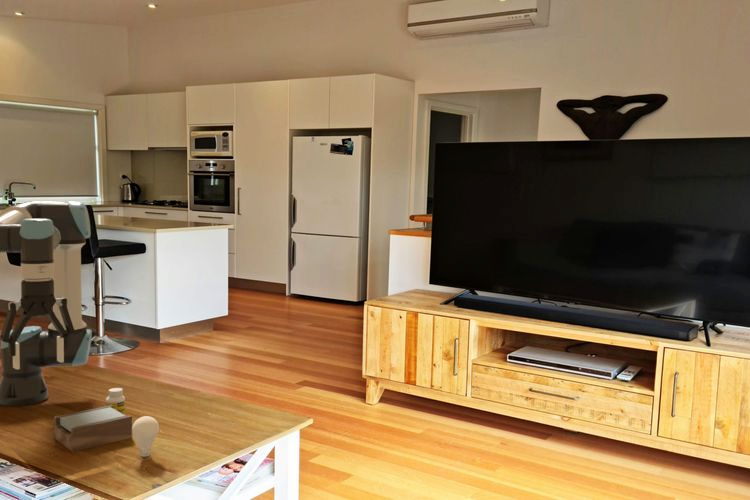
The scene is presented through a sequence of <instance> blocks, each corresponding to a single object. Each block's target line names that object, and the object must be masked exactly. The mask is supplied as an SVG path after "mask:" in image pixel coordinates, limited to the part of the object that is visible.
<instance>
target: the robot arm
mask: <svg viewBox="0 0 750 500" xmlns="http://www.w3.org/2000/svg"><path fill="white" fill-rule="evenodd" d="M90 238H91V222H90V216H89V212H88V208H87V206H86V205H85V203H83V202H79V201H70V200H69V201H67V200H65V201H64V200H62V201H60V200H58V201H55V200H53V201H52V200H51V201H50V200H33V201H32V200H31V201H25V202H21V203H17V204H14V205H11V206H9V207H6V208H5V209H3V211H1V213H0V253H20V278H21V279H23V280H21V281H20V285H21V287H20V292H21V297H20V300H19V301H15V302H14V301H8V302H7V313H6V316H5V320H4V323H3V325H2V330H1V333H0V343H1V344H0V358H1V362H0V363H1V379H0V406H3V407H4V406H5V407H20V406H27V405H28V406H29V405H34V404H38V403H40V402H43V401H45V400H47V399H48V398H49V389H48V386H47V383H46V382H45V378H44V376H43V372H42V371H43V368H47V367H49V368H50V367H51V368H52V367H74V366H83V365H85V364H86V363H88V360H89V356H90V351H91V343H92V338H93V337H92V336H93V335H92V334H93V333H92V332H93V331H92V329H88V325H87V323H86V322H85V321H84V320H83V319H82V318H83V316H82V314H83V313H82V312H83V311H82V255H81V254H82V252H81V251H82V248H83V246H85V245H86V243H87V242H86V241H87V240H86V239H90ZM20 307H21V309H22V310H23V311H22V313H21V314H20V317H19V319H18V321H17V322H16V324H15V326H14V328H13V325H14V322H15V318H16V314H17V311H19V308H20ZM38 316H47V318H48V320H49V321H50V324H49V325H47V330H43V329H42V327H41V326H39V325H32V326H26V325H27V323H28V322H29V320H31V318H32V317H38Z"/></svg>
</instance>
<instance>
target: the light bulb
mask: <svg viewBox="0 0 750 500" xmlns="http://www.w3.org/2000/svg"><path fill="white" fill-rule="evenodd" d="M159 429H160V425H159V422H158V421H157V420H156V418H154V417H152V416H150V415H144V416H141V417H139V418H137V419H136V420H135V421H134V422H133V423H132V437H133V438H134V440H135V441H136V443H137V446H138V449H139V457H141V458H143V459H148V458H149V457H151V456H152V448H153V445H154V441H155V439H156V438H157V436H158V434H159Z"/></svg>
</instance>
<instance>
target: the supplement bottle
mask: <svg viewBox="0 0 750 500" xmlns="http://www.w3.org/2000/svg"><path fill="white" fill-rule="evenodd" d="M123 391H124V390H123V388H122V387H113V388H110V389H108V396H107V397H106V398H105V406H109V405H112V406H113V409H115V410H117V411H118V412H120V413H122V414H124V415H125V416H126V398H125V397H126V396H124V395H123V394H124V393H123Z"/></svg>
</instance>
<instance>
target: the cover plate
mask: <svg viewBox="0 0 750 500" xmlns="http://www.w3.org/2000/svg"><path fill="white" fill-rule="evenodd" d="M125 416H126V414H125V415H124V414H122V413H120V412H118V411H117V410H115V409H113V408H111V407H109V408H104V409H99V410H94V411H89V412H85V413H80V414H75V415H70V416H65V417H60V425H61V426H63V427H64V428H66V429H67V430H69V431H70V432H71V428H75V427H79V426H84V425H88V424H93V423H97V422H102V421H107V420H111V419H116V418H120V417H125Z"/></svg>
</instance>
